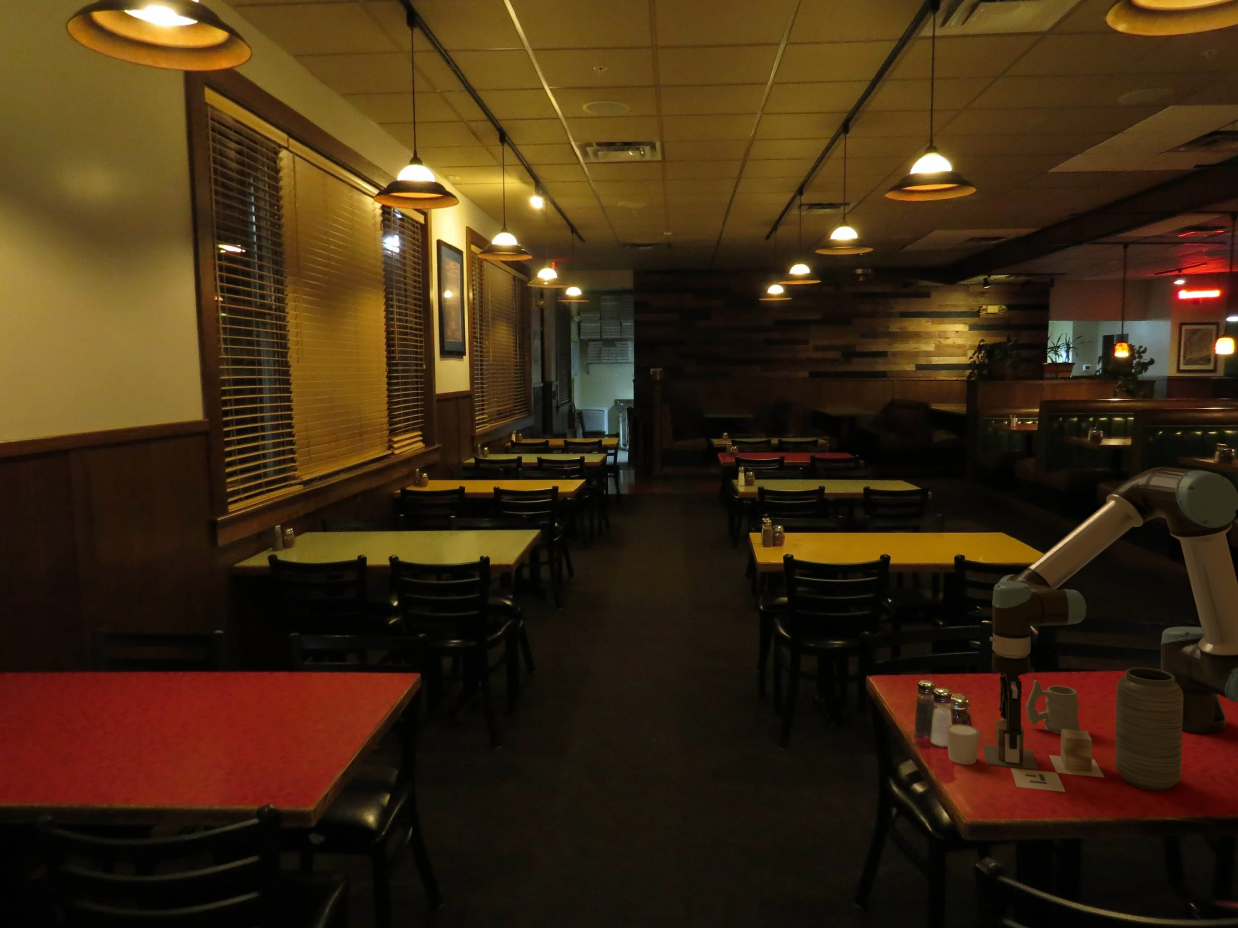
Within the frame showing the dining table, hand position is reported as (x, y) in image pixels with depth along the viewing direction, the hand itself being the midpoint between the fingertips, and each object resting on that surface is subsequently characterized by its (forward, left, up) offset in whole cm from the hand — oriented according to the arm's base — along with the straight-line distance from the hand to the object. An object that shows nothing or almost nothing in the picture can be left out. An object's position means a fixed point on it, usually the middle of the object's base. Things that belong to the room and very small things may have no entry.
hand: (1009, 754), depth 189 cm
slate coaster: (0, 0, -1) cm, 1 cm away
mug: (-12, -20, -1) cm, 23 cm away
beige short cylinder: (+10, +3, -1) cm, 11 cm away
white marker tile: (-4, +10, -1) cm, 11 cm away
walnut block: (0, 0, 0) cm, 0 cm away
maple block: (-13, +1, -1) cm, 13 cm away
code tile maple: (-13, +1, -1) cm, 13 cm away
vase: (-26, +5, -1) cm, 26 cm away
